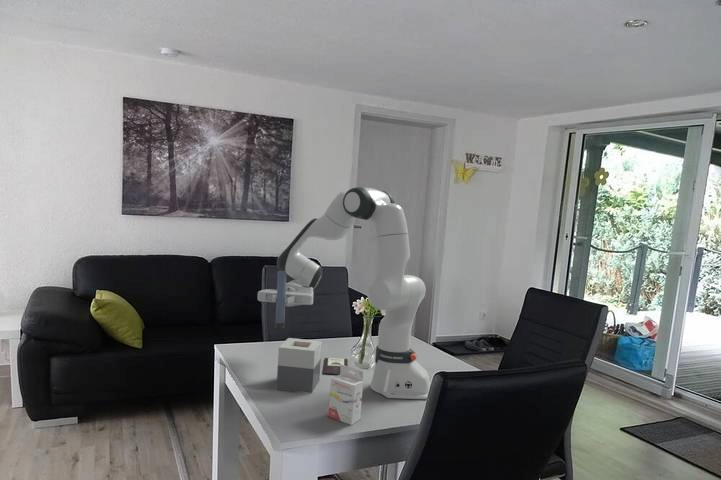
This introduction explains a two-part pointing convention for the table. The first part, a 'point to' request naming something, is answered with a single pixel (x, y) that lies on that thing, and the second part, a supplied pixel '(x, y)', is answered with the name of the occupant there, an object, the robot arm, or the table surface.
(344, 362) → the chocolate bar
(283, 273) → the stylus
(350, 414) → the ink cartridge box
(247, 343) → the table surface
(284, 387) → the box
